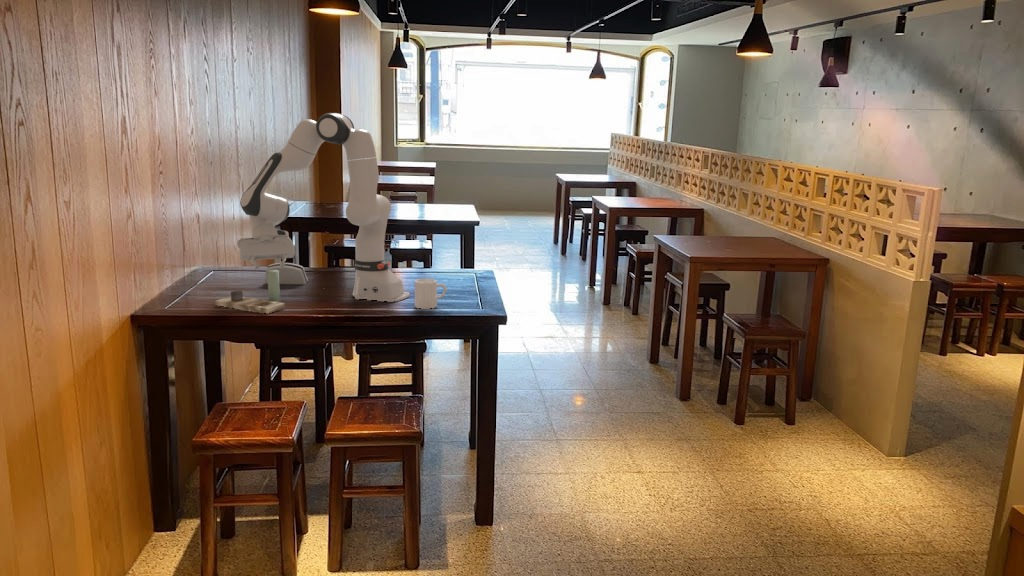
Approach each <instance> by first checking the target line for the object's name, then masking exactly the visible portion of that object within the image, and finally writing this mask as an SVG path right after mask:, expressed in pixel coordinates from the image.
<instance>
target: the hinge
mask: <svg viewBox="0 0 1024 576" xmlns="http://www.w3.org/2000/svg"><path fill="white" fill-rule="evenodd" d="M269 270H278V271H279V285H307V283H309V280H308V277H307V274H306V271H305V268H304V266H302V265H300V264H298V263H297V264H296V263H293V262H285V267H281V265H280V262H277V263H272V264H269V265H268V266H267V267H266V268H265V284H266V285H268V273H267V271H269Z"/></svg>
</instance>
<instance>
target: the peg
mask: <svg viewBox="0 0 1024 576" xmlns="http://www.w3.org/2000/svg"><path fill="white" fill-rule="evenodd" d="M267 273H268V284H267V288H268V291H267V293H268V301H274V302H281V293H280V292H281V291H280V289H281V288H280V284H279V271H278V270H269V271H267Z"/></svg>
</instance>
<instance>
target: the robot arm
mask: <svg viewBox="0 0 1024 576" xmlns="http://www.w3.org/2000/svg"><path fill="white" fill-rule="evenodd" d="M324 142H327V143H330V144H336V145H339V146H340V145H342V146H343V148H344V150H345V153H346V154H345V155H346V161H347V167H348V168H347V169H348V176H349V194H348V202H347V205H346V208H345V217H346V219H347V220H348V222H349V223H350V224H352V225H355V226H358V227H359V229H358V233H357V235H356V237H355V242H354V245H355V259H354V271H355V278H354V286H353V291H352V296H353V297H354V299H355V300H359V299H367V300H366V301H371V300H377V301H376V302H384V301H387V302H388V303H393V302H394V301H395V302H400V301H402V300H404V299H407V298H409V297H410V296H411V295H410V292H408V291H405V289H404V283H403V281H402V279H400V277H398V276H397V275H396V274H395V273H393V272H392V270H390V269H389V266H391V261H387V260H386V258H385V237H386V230H387V225H388V220H389V216H390V213H391V211H392V205H391V202H390V200H389V199H388V198H387V197H386V196H384V195H381V194H377V192H378V183H379V180H380V174H379V166H378V158H377V152H376V151H377V150H376V147H375V144H374V140H373V138H372V135H371V132H369V131H368V130H365V129H361V128H355V126H354V123H353V121H352V120H351V118H349V117H348V116H346V115H343V114H342V113H337V112H326V113H324V114H322V115H321V116H320V117H319V118H318V120H317V121H316V120H313V119H309V118H306V119H302V120H300V122H299V123H298V124H297V125H296V127H295V128H294V130H293V131H292V133H291V135H290V137H289V139H288V142H286V144H285V146H284V147H283V148H282V149H281V150H280V151H278V152H275V153H273V154H272V155H271V156H270V157H269V158H268V160H267V161H266V163H265V164H264V165H263V167H262V168H261V170H260V171H259V172H258V174H257V176H256V177H255V179H254V180H253V181H252V183H251V185H249V187H248V188H247V189H246V190H245V192H243V194H242V195H241V197H240V200H239V201H240V202H239V206H240V207H241V210H242V211H243V212H244V213H245V215H247V216H248V217H249V224H250V227H251V237H247V238H246V237H245V238H244V237H243V238H240V239H238V240H237V242H236V246H237V248H238V249H239V260H241V261H244V262H245V261H250V263H251V264H252V266H253V267H254V269H255V270H256V269H260V265H259V264H260V263H259V262H257V261H259V260H261V261H262V260H263V261H264V260H276V259H277V260H279V259H281V260H280V261H279V263H280V265H281V267H285V263H286V261H287V259H294V257H295V256H296V249H295V245H294V242H293V240H292V239H291V237H290V236H289V232H288V231H287V230H282V229H278V228H276V226H278V225H280V224H281V223H283V222H284V221H285V220H287V218H288V217H290V203H289V202H288V200H287V199H286V198H284V197H281V196H278V195H275V194H271V193H268V192H266V190H267V189H268V187H270V184H271V183H272V182H273V180H274V178H275V177H276V176H277V175H279V174H280V173H284V172H285V173H286V172H298V171H304V170H305V169H307V168H309V167H310V166H311V164H312V163H313V161H314V159H315V157H316V156H317V153H318V151H319V149H320V147H321V145H322V144H323V143H324ZM387 302H386V303H387Z"/></svg>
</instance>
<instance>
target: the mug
mask: <svg viewBox="0 0 1024 576" xmlns="http://www.w3.org/2000/svg"><path fill="white" fill-rule="evenodd" d="M438 287H440V288H443V292H442V294H440V295H438ZM447 290H448V288H447V287H446V285H445V284H444V283H438V281H437V279H434V278H417V279H416V280H414V306H415V307H414V308H417V309H419V308H421V309H420V310H431V309H430V308H432V309H436V308H437V307H436V306H438V300H439V299H442V298H444V297H445V295H446V293H447ZM435 307H436V308H435Z"/></svg>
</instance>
